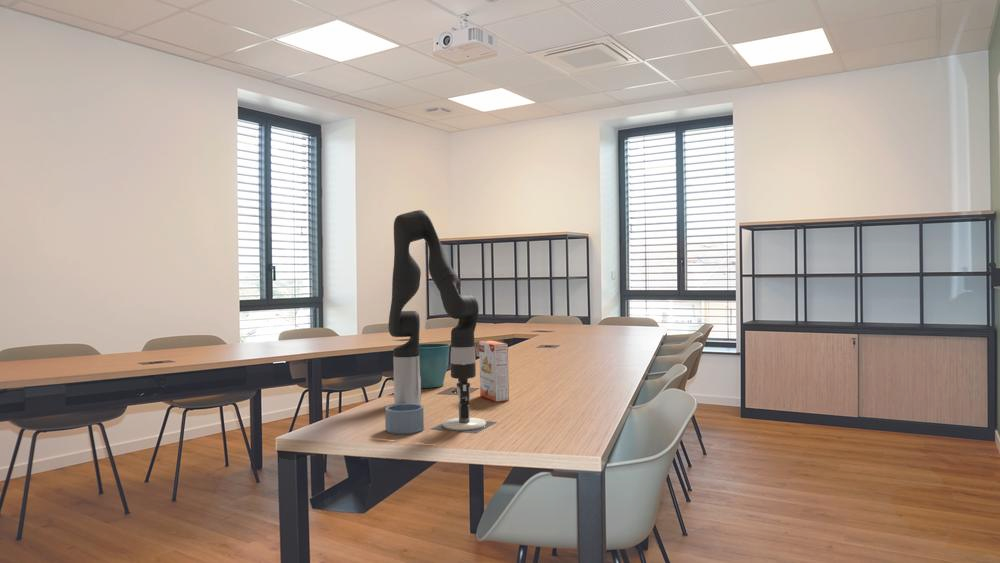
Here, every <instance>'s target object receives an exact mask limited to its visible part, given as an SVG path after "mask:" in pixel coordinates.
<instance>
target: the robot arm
mask: <svg viewBox="0 0 1000 563" xmlns="http://www.w3.org/2000/svg"><path fill="white" fill-rule="evenodd" d="M420 240H424V241H425V243H426V244H427V246H428V251H429V252H428V254H429V255H428V271H429V275H430V277H431V279H432V281H433V283H434V285H435V286H436V288H437V289H438V291H439V293H440V298H441V299H440V300H441V302H442V306H443V308H444V310H445V312H446V314H447V315H448V316H449V317H450V318H452V319H453V320H458V323H457V325H456V326H454V327H453V328H452V329H451V331H450V353H449V357H450V358H449V359H450V377H451V378H452V379H457V381H458V382H457V383H456V390H457V396H458V400H459V404H460V406H461V418H462V419H468V406H469V407H470V399H471V383H470V382H468V380H469V379H473V378H475V377H476V375H477V373H476V371H477V369H476V368H477V366H476V363H477V362H476V349H475V348H476V347H475V330H476V327H477V321H478V319H479V303H478V301H477V299H476V298H475V297H474V296H473V295H471V294H460V293H459V291H458V290H459V289H460V287H461V281H460V278H459V276H458V275H457V273H456V271H455V269H454V268H453V267H452V265H451V263H450V261H449V260H448V257H447V255H446V253H445V251H444V248H443V246H442V242H441V241H440V238H439V236H438V233H437V232H436V228H435V227H434V223H433V221H432V219H431V218H430V216H429V215H428V213H427V212H426V211H425V210H421V209H418V210H417V209H416V210H413V211H409V212H405V213H401V214H398V215H397V216H396V217H395V219H394V221H393V244H394V245H393V247H394V248H393V249H394V251H393V252H394V254H393V256H394V257H393V270H392V280H391V282H392V283H391V284H392V285H391V301H390V302H391V303H390V310H389V316H388V324H387V325H388V326H387V328H388V333H389V334H390V336H391V337H393V338H409V339H408V341H406V342H404V343H403V344H401V345H399V346H396V347H395V348H393V352H392V353H393V355H392V356H393V358H392V359H393V405H397V404H419V405H421V403H422V388H421V377H420V364H419V344H420V328H421V327H420V326H421V324H420V323H421V322H420V321H421V318H420V315H419V314H420V313H419V312H418V311H416V310H403V309H404V308H405V306H406V305H407V303H409V301H411V299H413V298H414V296H415V295H416V294H417V293H418V291H419V289H420V285H421V275H422V274H421V273H422V272H421V268H420V266H419V264H418V262H416V260H415V259H414V257H413V256H412V255H411V254H410V244H411V243H412V242H416V241H420ZM459 404H458V405H459Z"/></svg>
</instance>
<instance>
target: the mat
mask: <svg viewBox="0 0 1000 563" xmlns="http://www.w3.org/2000/svg"><path fill="white" fill-rule="evenodd" d="M485 421H486V426H485V427H483V428H480V429H476V430H466V431H457V430H449V429H445V428H443V423H440V424H439V425H436V426H434V427H432V428H430V430H433V431H443V432H444V431H445V432H454V433H455V432H457V433H466V434H468V433H469V434H478V433H480V432H482V431H484V430H486V429H487V428H489V427H492V426H494V424H497V423H498V421H488V420H485Z"/></svg>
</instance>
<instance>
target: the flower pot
mask: <svg viewBox="0 0 1000 563" xmlns="http://www.w3.org/2000/svg"><path fill="white" fill-rule="evenodd" d="M450 348H451V344H448V343H439V342H437V343H435V342H434V343H419V364H420V377H421V389H423V388H424V389H431V388H432V389H433V388H440V387H443V386H444V382H445V377H446V374H447V371H448V367H449V359H450V358H449V357H450Z"/></svg>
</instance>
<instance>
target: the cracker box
mask: <svg viewBox="0 0 1000 563" xmlns="http://www.w3.org/2000/svg"><path fill="white" fill-rule="evenodd" d="M478 345H479V346H478V352H479V385H480V386H479V388H480V389H479V390H480V391H479V392H480V394H479V395H480V397H483V398H485V399H488V400H490V401H492V402H495V403H499V402H507V401H510V392H509V391H510V386H509V382H510V381H509V380H510V379H509V378H510V377H509V344H508V343H504V342H500V341H496V340H480V341H478Z"/></svg>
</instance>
